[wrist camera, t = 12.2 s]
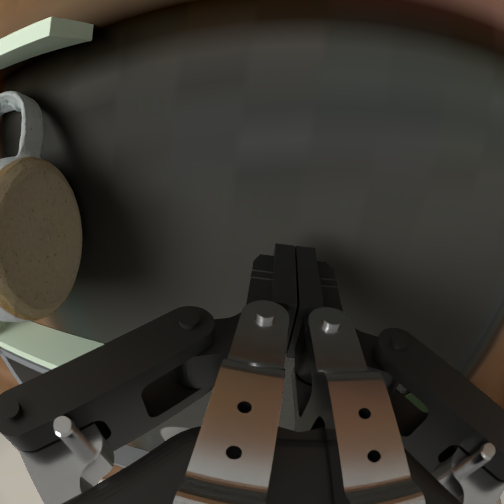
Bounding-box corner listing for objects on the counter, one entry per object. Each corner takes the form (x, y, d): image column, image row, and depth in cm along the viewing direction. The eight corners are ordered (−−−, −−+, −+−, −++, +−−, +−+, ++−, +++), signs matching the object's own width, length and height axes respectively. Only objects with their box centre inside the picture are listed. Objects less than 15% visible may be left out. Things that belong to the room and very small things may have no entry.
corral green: (93, 24, 9) (51, 16, 6) (127, 356, 19) (111, 390, 16) (-40, 78, 9) (-73, 86, 6) (11, 319, 19) (-8, 342, 16)
